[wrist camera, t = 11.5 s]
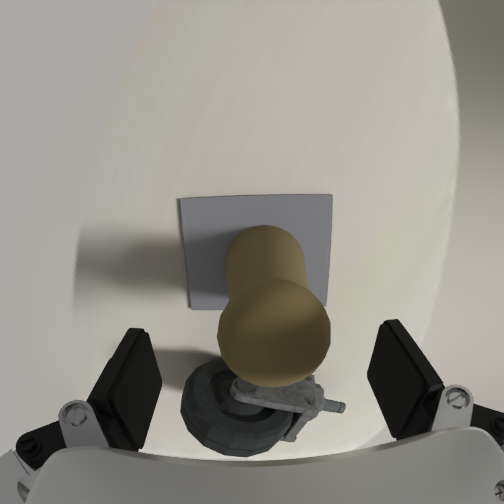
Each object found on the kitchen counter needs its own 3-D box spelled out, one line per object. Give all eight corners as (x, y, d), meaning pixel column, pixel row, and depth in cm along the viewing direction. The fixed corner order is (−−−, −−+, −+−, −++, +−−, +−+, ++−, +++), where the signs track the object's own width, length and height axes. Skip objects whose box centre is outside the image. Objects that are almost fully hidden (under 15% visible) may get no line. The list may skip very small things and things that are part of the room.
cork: (238, 308, 23) (232, 415, 12) (213, 238, 21) (179, 316, 10) (311, 287, 22) (354, 385, 12) (293, 214, 20) (337, 273, 10)
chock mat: (181, 198, 20) (179, 199, 20) (331, 194, 20) (332, 195, 20) (192, 308, 23) (191, 310, 23) (325, 304, 23) (326, 306, 23)
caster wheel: (192, 373, 27) (327, 410, 27) (163, 445, 17) (337, 482, 18) (205, 331, 25) (353, 374, 25) (172, 406, 16) (374, 449, 16)
